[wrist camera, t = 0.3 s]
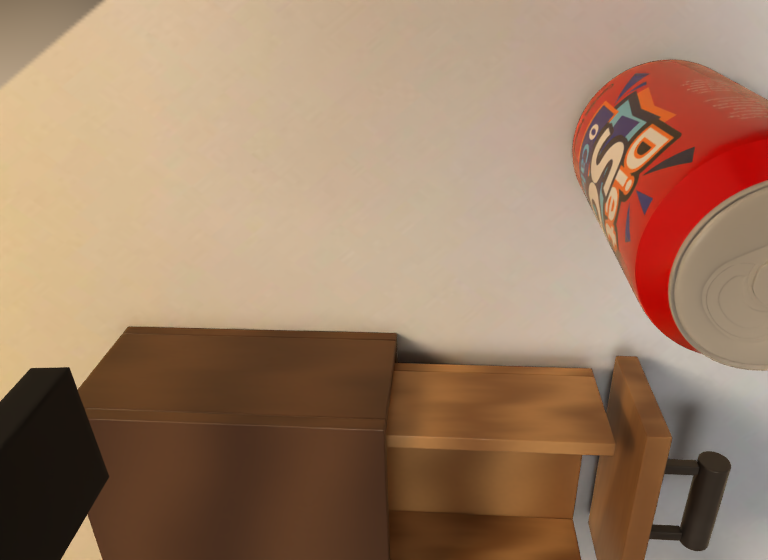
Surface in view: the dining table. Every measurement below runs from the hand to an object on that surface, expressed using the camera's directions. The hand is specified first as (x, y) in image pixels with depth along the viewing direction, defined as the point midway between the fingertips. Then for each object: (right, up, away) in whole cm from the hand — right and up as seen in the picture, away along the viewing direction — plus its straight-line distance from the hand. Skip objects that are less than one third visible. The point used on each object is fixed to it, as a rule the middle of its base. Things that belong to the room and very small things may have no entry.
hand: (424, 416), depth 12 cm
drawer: (+8, -8, +29) cm, 31 cm away
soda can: (+12, +10, +21) cm, 26 cm away
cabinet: (-8, -7, +31) cm, 33 cm away
